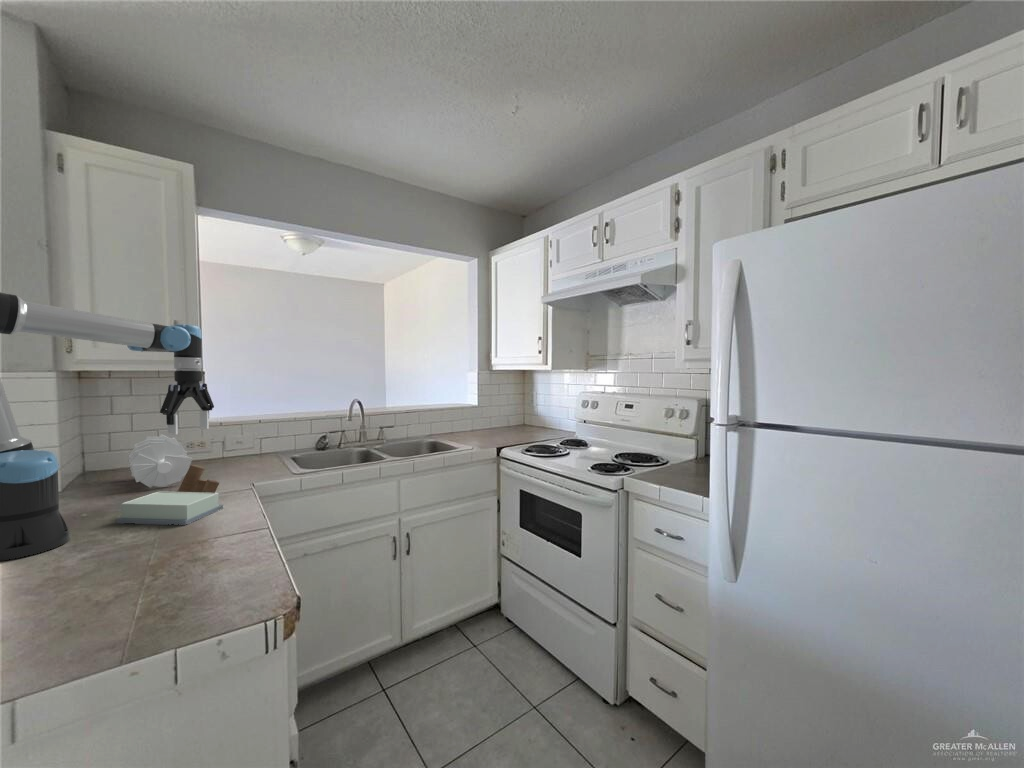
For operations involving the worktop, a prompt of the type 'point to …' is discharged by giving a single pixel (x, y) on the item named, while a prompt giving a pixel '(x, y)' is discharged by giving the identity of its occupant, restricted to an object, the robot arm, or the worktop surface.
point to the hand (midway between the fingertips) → (189, 431)
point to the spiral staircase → (159, 461)
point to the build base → (169, 508)
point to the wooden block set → (197, 481)
